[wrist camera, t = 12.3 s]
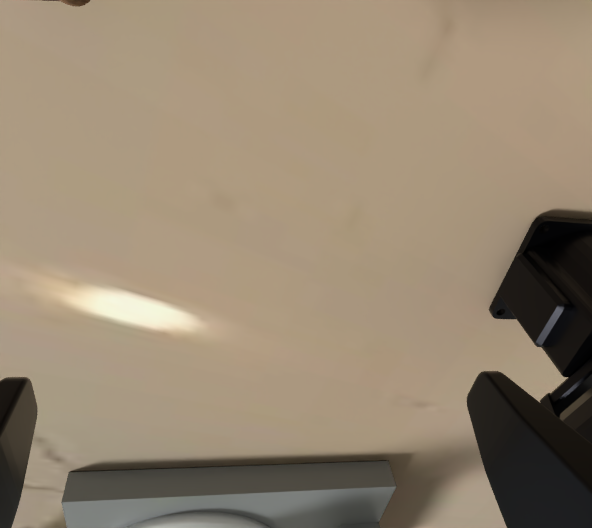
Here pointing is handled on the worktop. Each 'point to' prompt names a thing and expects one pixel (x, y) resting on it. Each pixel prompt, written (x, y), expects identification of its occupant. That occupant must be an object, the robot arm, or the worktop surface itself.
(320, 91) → the worktop surface
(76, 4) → the tin
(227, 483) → the kitchen scale
